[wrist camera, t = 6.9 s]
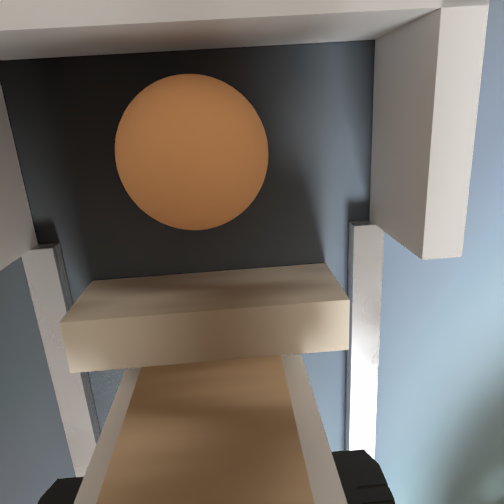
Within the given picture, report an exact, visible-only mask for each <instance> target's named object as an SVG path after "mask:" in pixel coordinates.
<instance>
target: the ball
mask: <svg viewBox="0 0 504 504" xmlns="http://www.w3.org/2000/svg"><path fill="white" fill-rule="evenodd" d="M268 155H269V153H268V142H267V137H266V133H265V130H264V127H263V124H262V122H261V120H260V118H259V116H258V114H257V112H256V111H255V109H254V108H253V106H252V105H251V104H250V102H249V101H248V100H247V99H246V98H245V97H244V96H243V95H242V94H241V93H240V92H238V91H237V90H236V89H235V88H233V87H232V86H230V85H228V84H226V83H225V82H223V81H221V80H218V79H216V78H213V77H209V76H205V75H200V74H179V75H173V76H169V77H166V78H163V79H161V80H158V81H156V82H154V83H152V84H151V85H149V86H147V87H146V88H145V89H143V90H142V91H141V92H140V93H139V94H138V95H137V96H136V97H135V98H134V99H133V100H132V101H131V103H130V104H129V105H128V107H127V108H126V110H125V112H124V113H123V116H122V118H121V120H120V123H119V125H118V129H117V133H116V139H115V160H116V166H117V170H118V173H119V177H120V179H121V181H122V184H123V186H124V188H125V190H126V191H127V193H128V194H129V196H130V197H131V199H132V200H133V201H134V202H135V203H136V205H137V206H138V207H139V208H140V209H142V210H143V211H144V212H145V213H146V214H148V215H149V216H150V217H152V218H154V219H155V220H157V221H159V222H161V223H163V224H166V225H168V226H171V227H174V228H179V229H185V230H205V229H210V228H214V227H217V226H220V225H222V224H225V223H227V222H229V221H231V220H232V219H234V218H235V217H237V216H238V215H240V214H241V213H242V212H243V211H244V210H245V209H246V208H247V207H248V206H249V205H250V204H251V203H252V202H253V200H254V199H255V197H256V196H257V194H258V192H259V191H260V189H261V187H262V185H263V182H264V179H265V176H266V172H267V166H268Z"/></svg>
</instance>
